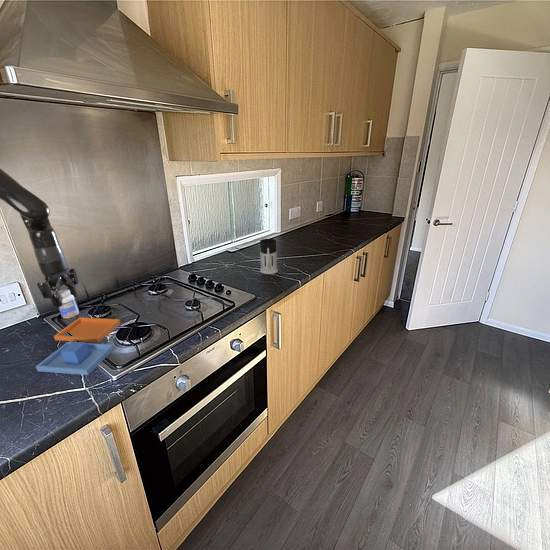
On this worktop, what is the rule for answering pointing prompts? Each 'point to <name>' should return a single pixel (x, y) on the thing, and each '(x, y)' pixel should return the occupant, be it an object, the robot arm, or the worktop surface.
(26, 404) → the worktop surface
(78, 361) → the blue block
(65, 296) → the pill bottle
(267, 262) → the glass holder
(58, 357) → the blue tray
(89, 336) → the amber tray
